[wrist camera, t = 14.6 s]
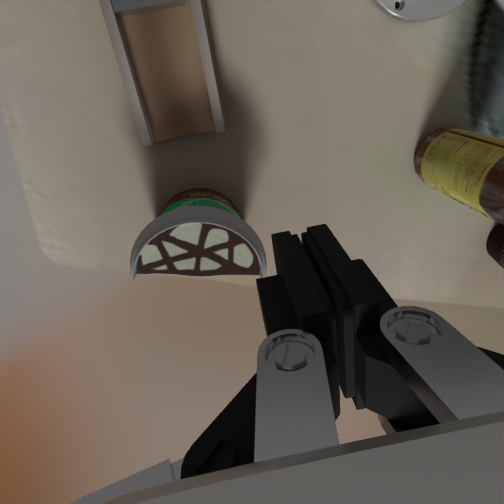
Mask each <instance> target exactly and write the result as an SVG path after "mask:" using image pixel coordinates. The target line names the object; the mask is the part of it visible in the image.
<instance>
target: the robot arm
mask: <svg viewBox="0 0 504 504" xmlns="http://www.w3.org/2000/svg"><path fill="white" fill-rule="evenodd" d="M466 1H467V0H373V2H374V3H375V4H376V5H377V7H379V8H380V9H381V10H383V11H384V12H385V13H386V14H388V15H390V16H392V17H394V18H397V19H399V20H404V21H410V22H416V21H427V20H431V19H436V18H439V17H441V16H444V15H446V14H449V13H450V12H452V11H454V10H455V9H457V8H458V7H460V6H461V5H463V4H464V3H465V2H466ZM395 3H397V5H398V6H397V8H396V9H395ZM301 237H302V243H301V241H300V239H299V237H298V235H297V234H294V235H291V233H290V232H289V231H286V232H280V233H275V234H272V244H273V250H274V257H275V264H276V271H277V275H275V276H270V277H264V278H259V279H256V283H257V289H258V294H259V299H260V304H261V310H262V314H263V319H264V325H265V330H266V334H267V338H266V339H264V341H263V342H262V343H261V345H260V346H259V350H258V356H257V373H256V374H255V375H254V376H253V377H252V378H251V379H250V380H249V382H248V383H247V384H246V385H245V386H244V387H243V388H242V389H241V391H240V392H239V393H238V394H237V395H236V396H235V397H234V398H233V400H232V401H231V402H230V403H229V404H228V405H227V406H226V408H225V409H224V410H223V411H222V412H221V413H220V414H219V415H218V416H217V418H216V419H215V420H214V421H213V422H212V423H211V424H210V425H209V427H208V428H207V429H206V430H205V431H204V432H203V433H202V434H201V436H200V437H199V438H198V439H197V440H196V441H195V442H194V443H193V445H192V446H191V447H190V449H189V450H188V452H187V453H186V455H185V457H184V458H182V459H180V460H178V461H176V462H173V463H171V462H170V460H169V459H167V460H165V461H163V462H161V463H158V464H156V465H154V466H151V467H149V468H147V469H145V470H142V471H140V472H138V473H136V474H133V475H131V476H129V477H127V478H124V479H122V480H120V481H118V482H115V483H113V484H111V485H109V486H106V487H104V488H102V489H99V490H97V491H95V492H93V493H90V494H88V495H86V496H83V497H81V498H79V499H77V500H76V501H74V502H73V503H71V504H504V355H502V354H499V353H496V352H493V351H490V350H487V349H483V348H480V347H477V346H475V345H474V344H473V343H472V342H470V341H469V340H468V339H467V338H466V337H465V336H463V335H462V334H461V333H460V332H459V331H457V330H456V329H455V328H454V327H453V326H452V325H450V324H449V323H448V322H447V321H446V320H444V319H443V318H442V317H441V316H439V315H438V314H436V313H435V312H432V311H430V310H427V309H425V308H421V307H415V306H402V307H398V306H397V305H396V303H395V302H394V301H393V299H392V298H391V297H390V295H389V294H388V293H387V291H386V290H385V289H384V287H383V286H382V285H381V283H380V282H379V281H378V279H377V278H376V277H375V275H374V274H373V273H372V272H371V270H370V269H369V268H368V266H367V265H366V264H365V262H364V261H363V260H362V259H357V260H351V259H350V258H349V256H348V255H347V253H346V252H345V251H344V249H343V248H342V246H341V245H340V243H339V242H338V241H337V239H336V238H335V236H334V235H333V233H332V232H331V231H330V229H329V228H328V226H327V225H326V224H322V225H317V226H312V227H307V232H305V233H302V234H301ZM339 385H340V388H341V390H342V392H343V395H344V397H345V398H350V397H352V399H353V401H354V404H355V406H356V409H357V410H359V409H364V408H367V409H369V410H371V411H373V412H375V413H377V414H378V419H379V422H380V424H381V426H382V428H383V429H384V431H385V432H386V434H387V435H383V436H379V437H374V438H369V439H364V440H359V441H355V442H350V443H345V444H341V445H339V439H338V434H337V428H336V423H335V421H336V419H337V418H338V416H339V414H340V390H339Z"/></svg>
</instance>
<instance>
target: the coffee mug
mask: <svg viewBox="0 0 504 504" xmlns="http://www.w3.org/2000/svg"><path fill="white" fill-rule="evenodd" d="M486 248H487V252H488V254H489V255H490V256H491V257H492V258H493V259H494V260H495V261H496V262H497V263H498V264H499V265H500V266H502V267H503V268H504V225H503V224H501V223H499V224H497V225H496V226H495V227H494V229H493V230H492V231H491V233H490V235H489V237H488V239H487V244H486Z"/></svg>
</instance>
